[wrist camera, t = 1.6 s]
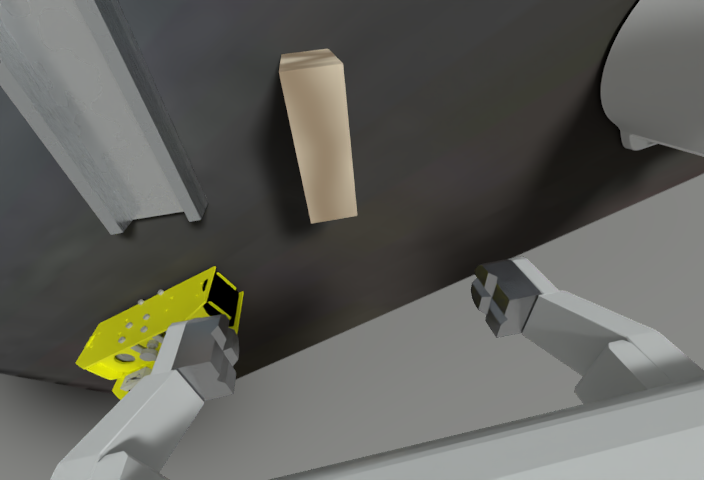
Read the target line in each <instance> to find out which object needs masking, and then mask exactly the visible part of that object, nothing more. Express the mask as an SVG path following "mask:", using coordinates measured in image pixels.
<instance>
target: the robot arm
mask: <svg viewBox="0 0 704 480" xmlns="http://www.w3.org/2000/svg"><path fill="white" fill-rule="evenodd" d="M601 102H602V107H603V109H604V112H605V114H606V115H607V117H608V118H609V119H610V120H611V121H612V122H613V123H614V124H615V125H616V126H617V127H618V128H619V129H620V133H621V140H622V144H623V146H624V147H625V148H627V149H631V150H635V151H637V150H641V149H644V148H647V147H650V146H653V145H656V144H661V145H665V146H668V147H672V148H675V149H679V150H682V151H686V152H689V153H693V154H696V155H700V156H703V157H704V0H640V1H639V2H638V3H637V5H636V6H635V8H634V9H633V10H632V12H631V13H630V15H629V16H628V18H627V19H626V21H625V23H624V24H623V26H622V28H621V30H620V31H619V33H618V35H617V37H616V39H615V41H614V43H613V45H612V48H611V50H610V53H609V55H608V58H607V61H606V64H605V67H604V71H603V75H602V81H601ZM474 274H475V275H476V277H477V278H476V280H475V281H474V282H473V283H472V287H471V293H472V299H473V301H474V303H475V305H476V307H477V308H478V310H479V311H481V312H483V313H485V314H486V322H487V324H488V325H489V327H490V329H491V330H492V331H493V333H494V335H495V336H496V338H498V337H503V336H509V335H513V334H519V333H522V335H523V336H525V337H526V338H528V339H529V340H531V341H532V342H534V343H535V344H536V345H538V346H539V347H541V348H542V349H544V350H545V351H547V352H548V353H550V354H551V355H553V356H554V357H555V358H557V359H558V360H560V361H561V362H563V363H564V364H566V365H567V366H569V367H570V368H571V369H573V370H574V371H576V372H577V373H579V374H580V375H582V376H583V377H582V379H581V380H580V381H579V383H578V384H577V385H576V386H575V391H574V392H575V393H576V395H577V396H578V397H579V399H580V400H581V401H582V403H583V405H579V406H575V407H571V408H566V409H562V410H558V411H554V412H549V413H546V414H541V415H537V416H533V417H528V418H524V419H521V420H516V421H512V422H508V423H503V424H499V425H495V426H491V427H487V428H483V429H479V430H474V431H470V432H466V433H462V434H458V435H454V436H449V437H445V438H441V439H437V440H433V441H429V442H425V443H421V444H416V445H412V446H408V447H403V448H400V449H395V450H391V451H387V452H383V453H379V454H375V455H370V456H366V457H362V458H358V459H353V460H350V461H345V462H341V463H337V464H333V465H328V466H325V467H320V468H316V469H312V470H308V471H303V472H300V473H295V474H291V475H287V476H283V477H279V478H274V479H270V480H704V370H703V369H701V368H700V367H699V366H698V365H697V364H696V363H694V362H693V361H692V360H691V359H690V358H689V357H687V356H686V355H685V354H684V353H683V352H682V351H680V350H679V349H678V348H677V347H676V346H675V345H673V344H672V343H671V342H670V341H669V340H668V339H667V338H665V337H664V336H663V335H662V334H661V333H659V332H658V331H657V330H655V329H652V328H650V327H648V326H645V325H643V324H641V323H638V322H636V321H634V320H631V319H629V318H627V317H625V316H622V315H620V314H617V313H615V312H613V311H611V310H608V309H606V308H604V307H601V306H599V305H597V304H594V303H592V302H590V301H588V300H585V299H583V298H581V297H578V296H576V295H574V294H572V293H569V292H567V291H564V290H563V291H559V290H558V289H557V288H556V287H555V286H554V285H553V284H552V283H551V282H550V281H549V280H548V279H547V278H546V277H545V276H544V275H543V274H542V273H541V272H540V271H539V270H538V269H537V268H536V267H535V266H534V265H533V264H532V263H531V262H530V261H529V260H528V259H527V258H526V257H524V256H520V257H515V258H510V259H504V260H499V261H494V262H489V263H484V264H479V265H478V266H477V267H476V269H475V273H474ZM228 326H229V319H228V318H227V316H226V315H225V314H221V315H215V316H209V317H203V318H197V319H191V320H187V321H181V322H175V323H172V324H171V325H170V326H169V327H168V329H167V332H166V334H165V337H164V339H163V342H162V345H161V347H160V350H159V353H158V355H157V358H156V361H155V363H154V366H153V369H152V371H151V374H150V375H147V376H144V377H143V378H142V379H141V380H140V381H139V382H138V383H137V384H136V385H135V386H134V387H133V388H132V389H131V390H130V391H129V392H128V393H127V394H126V395H125V396H124V397H123V398H122V399H121V400H120V402H119V403H118V404H117V405H116V406H115V407H114V408H113V409H112V410H111V411H110V412H109V413H108V414H107V415H106V416H105V417H104V418H103V419H102V420H101V421H100V422H99V423H98V424H97V425H96V426H95V427H94V428H93V429H92V430H91V431H90V432H89V433H88V434H87V435H86V436H85V437H84V438H83V439H82V440H81V441H80V442H79V443H78V444H77V445H76V446H75V447H74V448H73V449H72V450H71V451H70V452H69V453H68V454H67V455H66V456H65V457H64V458H63V459H62V460H61V461H60V463H59V464H58V465H57V467H56V469H55V471H54V473H53V475H52V477H51V479H50V480H169V479H168V478H166V477H165V476H163V475H162V474H160V473H159V472H160V471H161V469H162V468H163V466H164V464H165V463H166V461H167V460H168V458H169V457H170V455H171V454H172V452H173V451H174V449H175V448H176V446H177V444H178V443H179V442H180V440H181V438H182V437H183V435H184V434H185V432H186V431H187V429H188V428H189V426H190V425H191V423H192V422H193V420H194V418H195V417H196V415H197V414H198V412H199V411H200V409H201V408H202V406H203V405H204V401H207V400H211V399H215V398H220V397H224V396H228V395H232V394H233V393H234V386H235V379H236V371H235V370H234V368H233V365H234V364H235V363H236V361H237V360H238V357H239V341H238V337H237V334H236V332H235V330H234V329H231V328H229V327H228Z"/></svg>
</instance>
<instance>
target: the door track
mask: <svg viewBox="0 0 704 480" xmlns="http://www.w3.org/2000/svg"><path fill="white" fill-rule="evenodd" d="M0 85H1V87H2V88H3V89H4V91H5V92H6V94H7V95H8V96H9V98H10V99H11V100H12V102H13V103H14V104H15V106H16V107H17V108H18V110H19V111H20V112H21V114H22V115H23V116H24V118H25V119H26V121H27V122H28V123H29V125H30V126H31V127H32V129H33V130H34V131H35V133H36V134H37V135H38V137H39V138H40V139H41V141H42V142H43V144H44V145H45V146H46V148H47V149H48V150H49V152H50V153H51V154H52V156H53V157H54V158H55V160H56V161H57V162H58V164H59V165H60V166H61V168H62V169H63V171H64V172H65V173H66V175H67V176H68V177H69V179H70V180H71V181H72V183H73V184H74V185H75V187H76V188H77V189H78V191H79V192H80V193H81V195H82V196H83V198H84V199H85V200H86V202H87V203H88V204H89V206H90V207H91V208H92V210H93V211H94V212H95V214H96V215H97V216H98V218H99V219H100V220H101V222H102V223H103V225H104V226H105V227H106V229H107V230H108V231H109V233H110V234H111V235H112V234H118V233H123V232H124V231H125V230H126V228H127V227H128V225H129V224H130V223H131V221H132V220H134V219H140V218H147V217H153V216H159V215H165V214H171V213H178V212H185V214H186V216H187V218H188V220H189V222H191V221H197V220H201V219H202V216H203V214H204V212H205V209H206V207H207V204H208V201H207V198H206V196H205V194H204V192H203V189H202V187H201V185H200V183H199V181H198V178H197V176H196V174H195V172H194V169H193V167H192V165H191V163H190V161H189V158H188V156H187V154H186V152H185V149H184V147H183V145H182V143H181V140H180V138H179V136H178V134H177V132H176V129H175V127H174V125H173V123H172V120H171V118H170V116H169V114H168V112H167V109H166V107H165V105H164V103H163V100H162V98H161V96H160V94H159V92H158V89H157V87H156V85H155V83H154V80H153V78H152V76H151V74H150V72H149V69H148V67H147V65H146V63H145V60H144V58H143V56H142V54H141V51H140V49H139V47H138V45H137V43H136V40H135V38H134V36H133V34H132V31H131V29H130V27H129V25H128V23H127V20H126V18H125V16H124V14H123V11H122V9H121V7H120V5H119V3H118V0H0Z"/></svg>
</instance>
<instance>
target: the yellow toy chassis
mask: <svg viewBox="0 0 704 480" xmlns="http://www.w3.org/2000/svg"><path fill="white" fill-rule="evenodd" d="M215 270H216V267H215V266H214V267H212V268H210V269H208V270H206V271H204V272H202V273H200V274H198V275H196V276H194V277H192V278H190V279H188V280H186V281H184V282H182V283H180V284H178V285H176V286H174V287H172V288H170V289H168V290H166V291H163V290H162V289H161V290H159V291H158V295H156V296H154V297H152V298H150V299H148V300H146V301H144V300H142V299H141V300H139V301H138V305H136V306H134V307H132V308H130V309H128V310H126V311H124V312H122V313H120V314H118V315H116V316H114V317H112V318H110V319H108V320H106V321H104V322H102V323H100V324H99V325H98V326H97V328H96V330H95V331H94V333H93V335H92V336H91V337H90V339H89V341H88V342H87V344H86V346H85V348H84V350H83V351H82V353H81V355H80V356H79V358H78V360H77V361H76V364H77V365H78V366H80V367H81V368H82V369H86V370H88V371H90V372H92V373H94V374H97V375H99V376H101V377H104V378H106V379H108V380H113V379H117V381H116V383H115V385H114V388H113V390H112V392H113V393H114V394H115V395H116V396H117V397H118V398H119V399H120V400H121V399H122V398H123V397H124V396H125V395H126V394H127V393H128V390H130V389H132V388H133V387H134V386H135V385H136V384H137V383H138V382H139V381H140V380H141V379H142V378H143V377H144V376H147V375H150V374H151V371H152V369H153V366H154V363H155V361H156V358H157V355H158V353H159V350H160V347H161V345H162V342H163V339H164V337H165V334H166V332H167V329H168V327H169V326H170V325H171V324H172V323H175V322H181V321H187V320H191V319H197V318H203V317H209V316H215V315H221V314H225V315H226V316H227V318H228V319H229V326H228V327H229V328H231V329H234V330H235V332H236V334H237V333H238V326H239V320H240V313H241V307H242V301H243V294H244V292H243V291H242V292H240V293H238V291H237V290H236V287H235V286H234V285H233V284H232V283H231V282H229V281H228V280H227V279H226V278H225V277H224V276H223V275H222V274H220V273H219V272H216V271H215Z"/></svg>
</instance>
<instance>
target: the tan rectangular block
mask: <svg viewBox="0 0 704 480" xmlns="http://www.w3.org/2000/svg"><path fill="white" fill-rule="evenodd" d="M279 75H280V80H281V85H282V89H283V94H284V99H285V103H286V108H287V113H288V117H289V122H290V127H291V131H292V136H293V141H294V146H295V150H296V155H297V160H298V164H299V169H300V174H301V178H302V183H303V188H304V192H305V197H306V202H307V206H308V211H309V216H310V221H311V224H312V223H317V222H323V221H329V220H335V219H341V218H347V217H353V216H357V207H356V196H355V186H354V175H353V165H352V154H351V143H350V133H349V122H348V112H347V101H346V90H345V80H344V69H343V63H342V62H341V61H340V60H339V59H338V58H337V57H336V56H335V55H334V54H333V53H332V52H331V51H330V50H329V49H321V50H313V51H305V52H297V53H289V54H281V61H280V68H279Z"/></svg>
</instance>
